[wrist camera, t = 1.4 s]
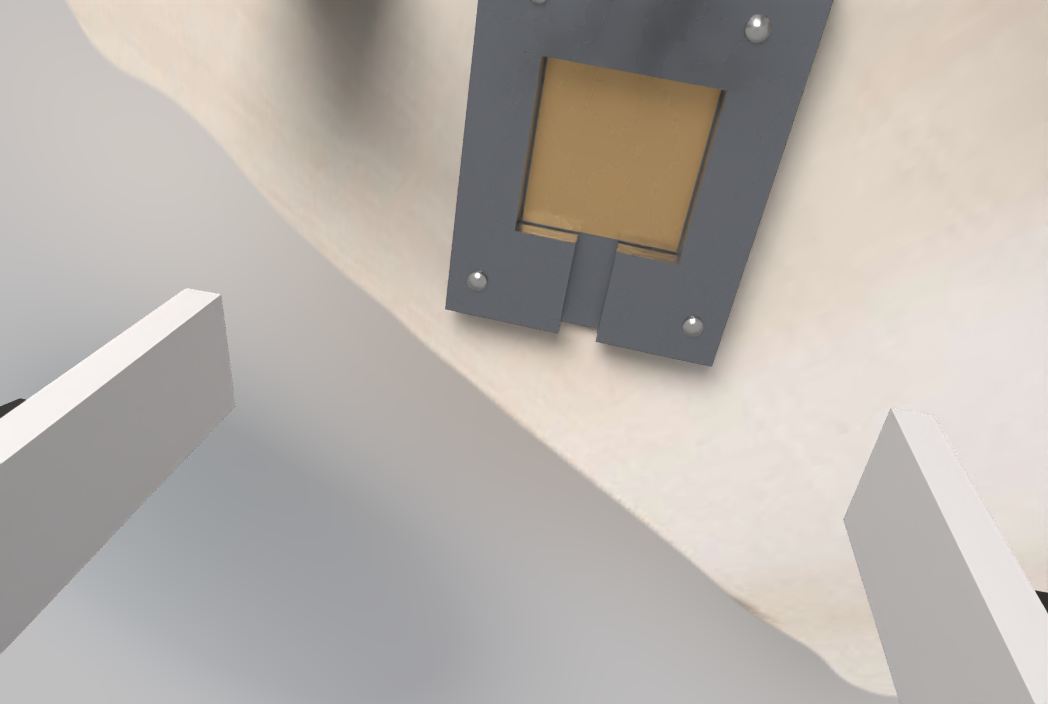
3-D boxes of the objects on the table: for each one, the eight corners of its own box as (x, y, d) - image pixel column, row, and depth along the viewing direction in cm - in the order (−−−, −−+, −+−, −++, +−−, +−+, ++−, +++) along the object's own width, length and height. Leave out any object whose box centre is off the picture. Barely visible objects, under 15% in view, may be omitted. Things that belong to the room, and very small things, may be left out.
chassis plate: (498, -89, 30) (487, -92, 28) (832, -31, 29) (844, -30, 27) (454, 293, 39) (444, 310, 37) (709, 348, 38) (711, 368, 36)
